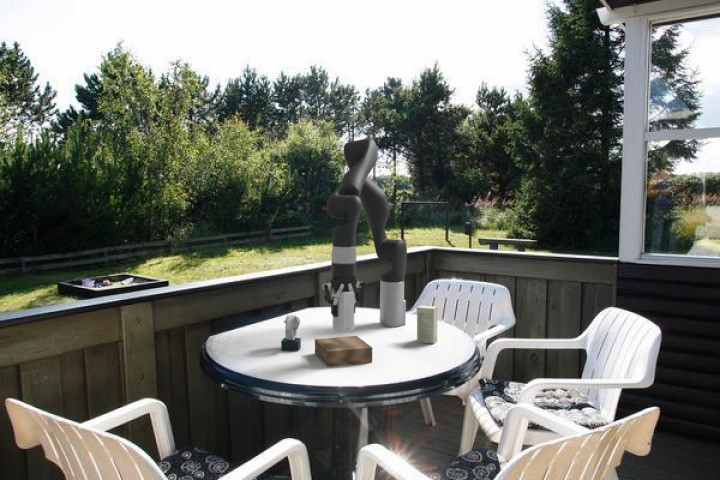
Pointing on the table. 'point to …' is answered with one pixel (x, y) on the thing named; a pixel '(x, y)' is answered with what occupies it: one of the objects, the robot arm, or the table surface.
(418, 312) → the skincare box
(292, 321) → the white bust on pedestal
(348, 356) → the walnut block
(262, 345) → the table surface
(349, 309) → the skincare box
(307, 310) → the table surface
